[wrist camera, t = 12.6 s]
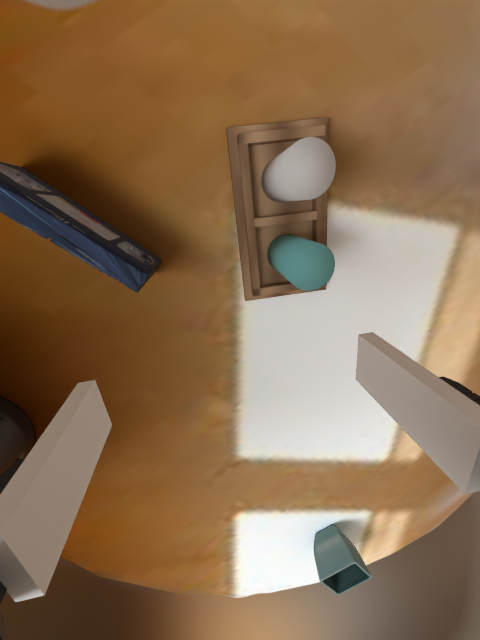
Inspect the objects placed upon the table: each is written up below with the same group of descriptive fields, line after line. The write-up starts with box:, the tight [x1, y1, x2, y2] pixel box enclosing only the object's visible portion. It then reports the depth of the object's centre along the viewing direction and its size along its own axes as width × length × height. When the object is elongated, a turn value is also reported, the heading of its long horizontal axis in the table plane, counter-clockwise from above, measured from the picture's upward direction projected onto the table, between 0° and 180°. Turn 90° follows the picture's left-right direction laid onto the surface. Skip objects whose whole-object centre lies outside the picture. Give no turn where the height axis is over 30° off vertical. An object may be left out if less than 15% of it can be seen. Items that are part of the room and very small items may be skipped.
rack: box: [226, 118, 328, 301], centre depth 35 cm, size 12×21×2 cm, turn 6°
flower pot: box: [314, 525, 372, 595], centre depth 61 cm, size 9×9×9 cm
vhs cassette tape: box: [0, 162, 161, 293], centre depth 29 cm, size 18×3×10 cm, turn 52°
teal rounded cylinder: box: [267, 234, 335, 291], centre depth 33 cm, size 5×5×10 cm
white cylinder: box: [261, 137, 336, 202], centre depth 29 cm, size 5×5×10 cm
